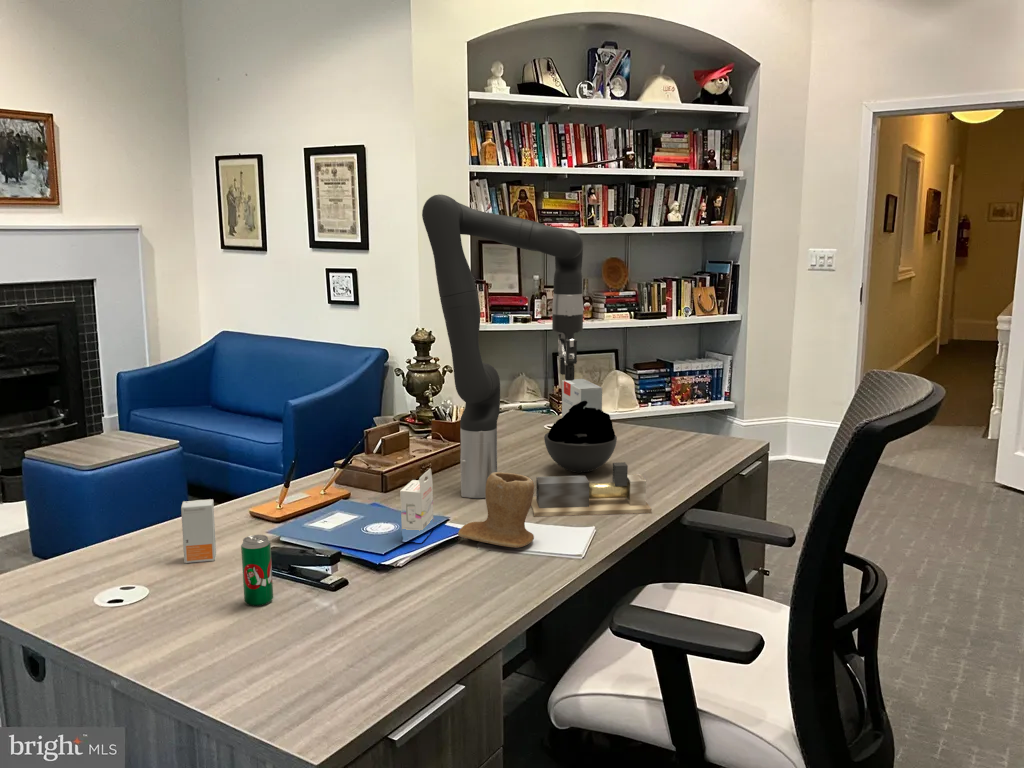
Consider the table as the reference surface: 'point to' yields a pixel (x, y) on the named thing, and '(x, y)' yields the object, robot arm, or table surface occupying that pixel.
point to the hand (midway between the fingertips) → (567, 377)
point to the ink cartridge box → (417, 503)
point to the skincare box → (198, 531)
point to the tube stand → (585, 497)
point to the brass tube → (612, 484)
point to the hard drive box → (580, 394)
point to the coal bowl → (581, 439)
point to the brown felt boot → (504, 512)
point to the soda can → (257, 570)
